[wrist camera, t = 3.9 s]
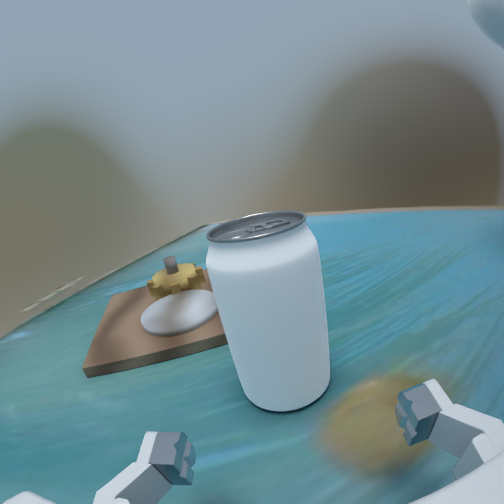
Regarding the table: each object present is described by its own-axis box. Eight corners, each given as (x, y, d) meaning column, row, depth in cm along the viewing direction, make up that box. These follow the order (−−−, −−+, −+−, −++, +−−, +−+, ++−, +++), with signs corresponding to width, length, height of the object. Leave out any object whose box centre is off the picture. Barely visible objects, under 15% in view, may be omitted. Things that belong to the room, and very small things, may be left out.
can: (233, 374, 22) (190, 230, 18) (303, 345, 23) (281, 205, 20) (263, 429, 16) (212, 253, 12) (348, 387, 17) (338, 215, 14)
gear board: (235, 268, 45) (227, 234, 43) (278, 327, 27) (267, 274, 25) (114, 302, 41) (102, 269, 39) (87, 377, 23) (61, 331, 21)
